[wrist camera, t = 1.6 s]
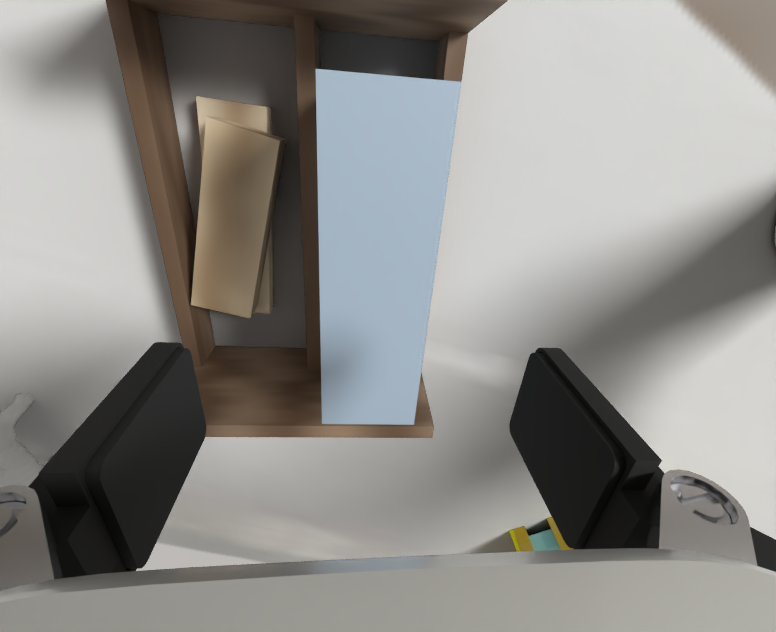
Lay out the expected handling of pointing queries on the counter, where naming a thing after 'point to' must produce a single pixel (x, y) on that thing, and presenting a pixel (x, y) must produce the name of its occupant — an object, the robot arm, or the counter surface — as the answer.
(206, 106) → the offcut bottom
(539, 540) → the book
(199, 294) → the offcut top
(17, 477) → the grey animal figure
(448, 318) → the counter surface
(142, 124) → the rack
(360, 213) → the blue-grey rectangular block
